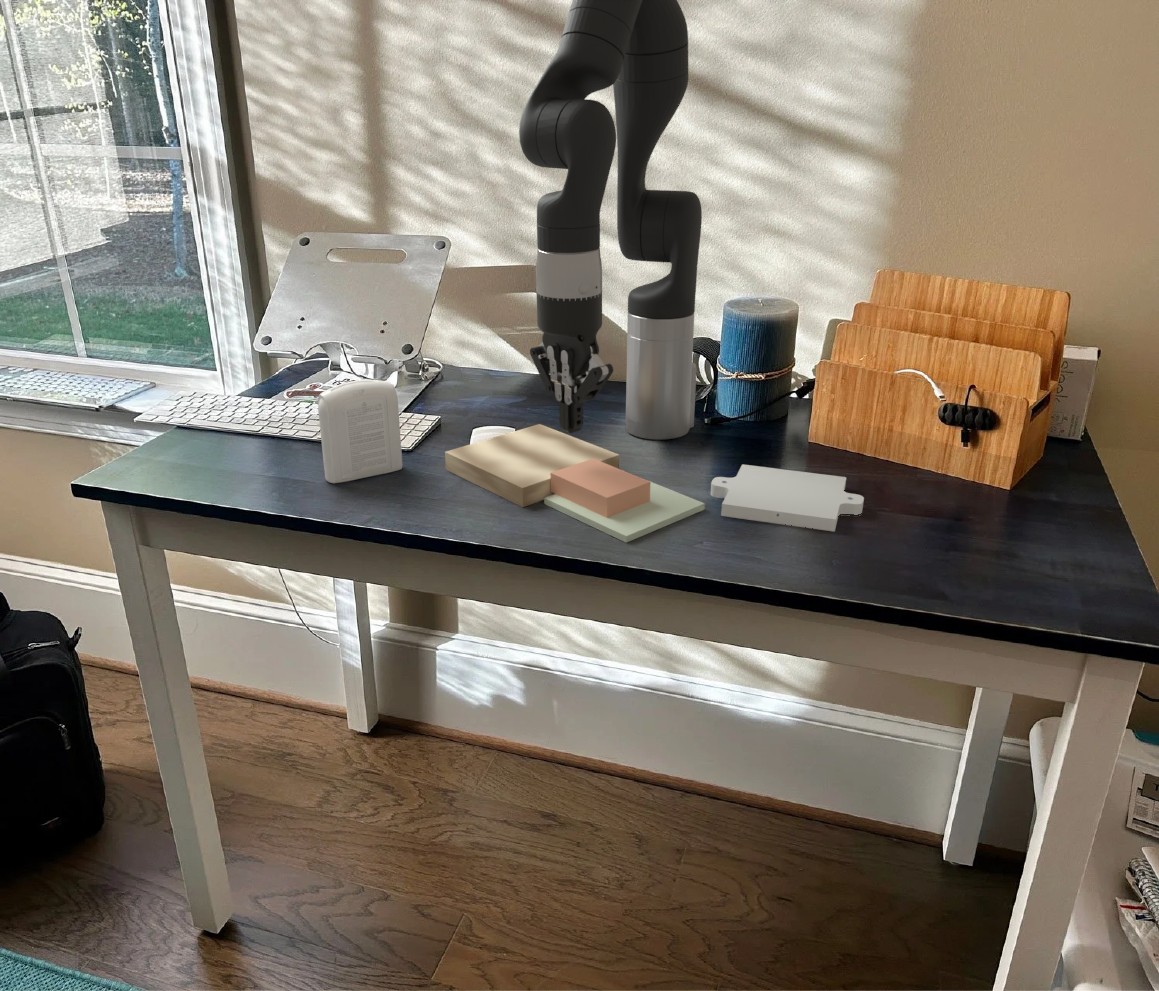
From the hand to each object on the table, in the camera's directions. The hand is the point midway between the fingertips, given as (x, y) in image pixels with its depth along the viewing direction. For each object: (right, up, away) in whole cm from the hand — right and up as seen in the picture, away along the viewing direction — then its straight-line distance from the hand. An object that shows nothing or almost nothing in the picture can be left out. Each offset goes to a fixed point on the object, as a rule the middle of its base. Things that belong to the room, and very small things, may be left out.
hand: (571, 430), depth 116 cm
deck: (-5, -5, +8) cm, 11 cm away
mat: (+6, -9, -2) cm, 11 cm away
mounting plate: (+26, -9, -1) cm, 27 cm away
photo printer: (-27, -5, +8) cm, 28 cm away
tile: (+3, -8, -1) cm, 9 cm away
